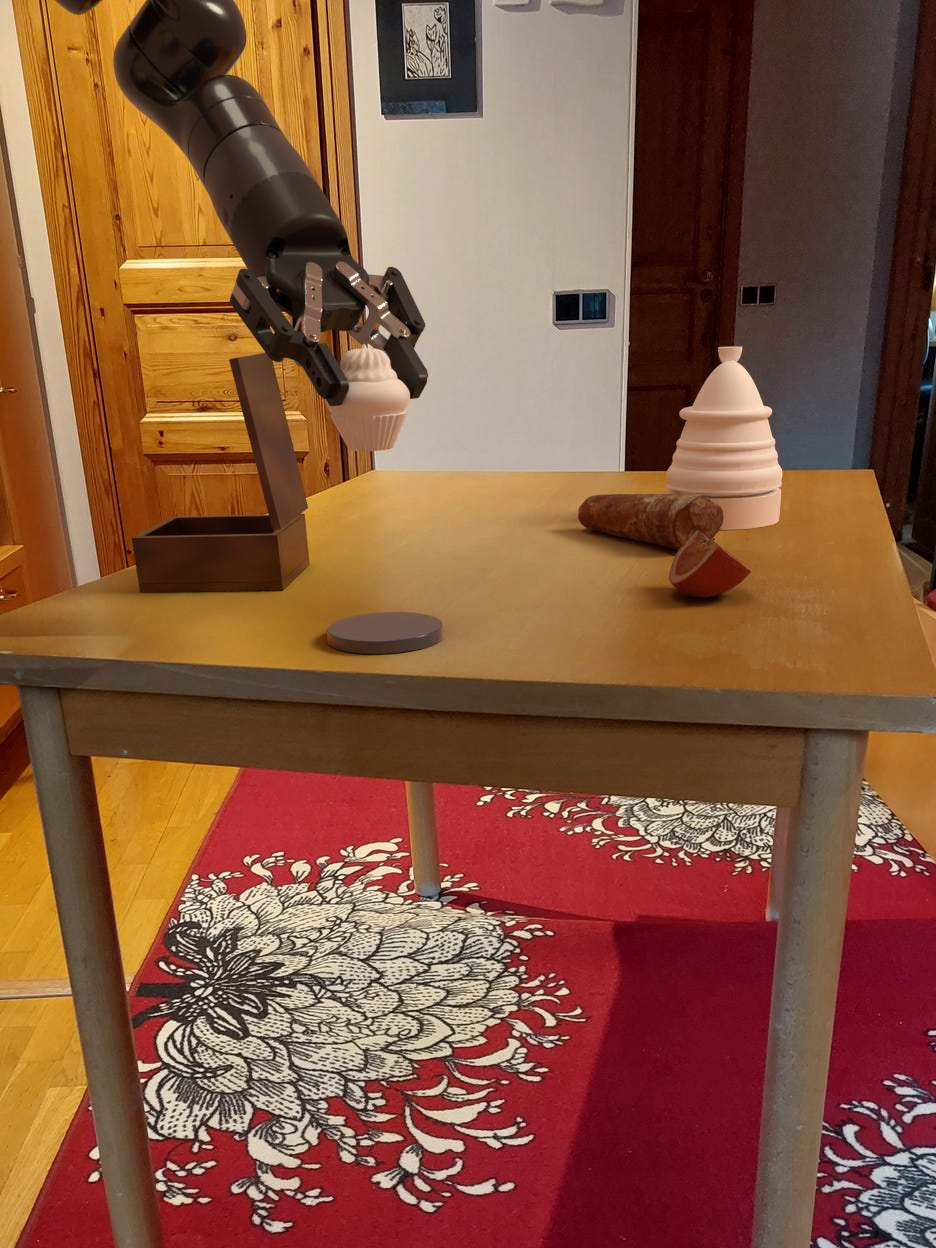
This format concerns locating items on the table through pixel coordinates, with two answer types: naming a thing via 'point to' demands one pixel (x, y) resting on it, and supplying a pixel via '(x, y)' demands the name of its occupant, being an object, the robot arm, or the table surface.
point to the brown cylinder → (652, 517)
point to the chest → (220, 554)
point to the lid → (269, 437)
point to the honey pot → (729, 449)
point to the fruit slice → (705, 568)
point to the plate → (385, 632)
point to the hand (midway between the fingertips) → (381, 393)
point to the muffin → (370, 401)
